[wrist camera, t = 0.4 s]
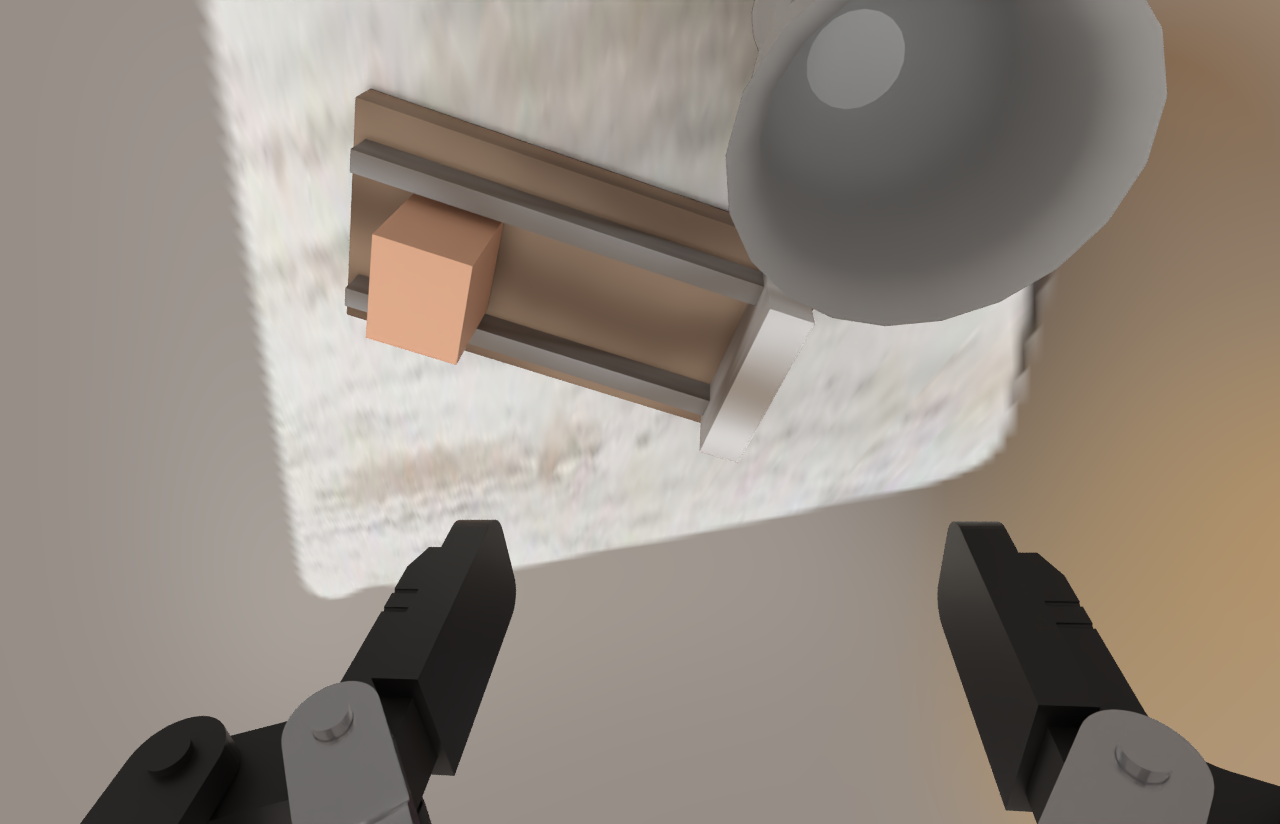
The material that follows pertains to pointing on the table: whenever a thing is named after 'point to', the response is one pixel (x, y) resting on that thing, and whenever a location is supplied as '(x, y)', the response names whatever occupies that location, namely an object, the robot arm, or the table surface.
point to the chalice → (937, 146)
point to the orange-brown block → (431, 277)
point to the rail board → (588, 271)
